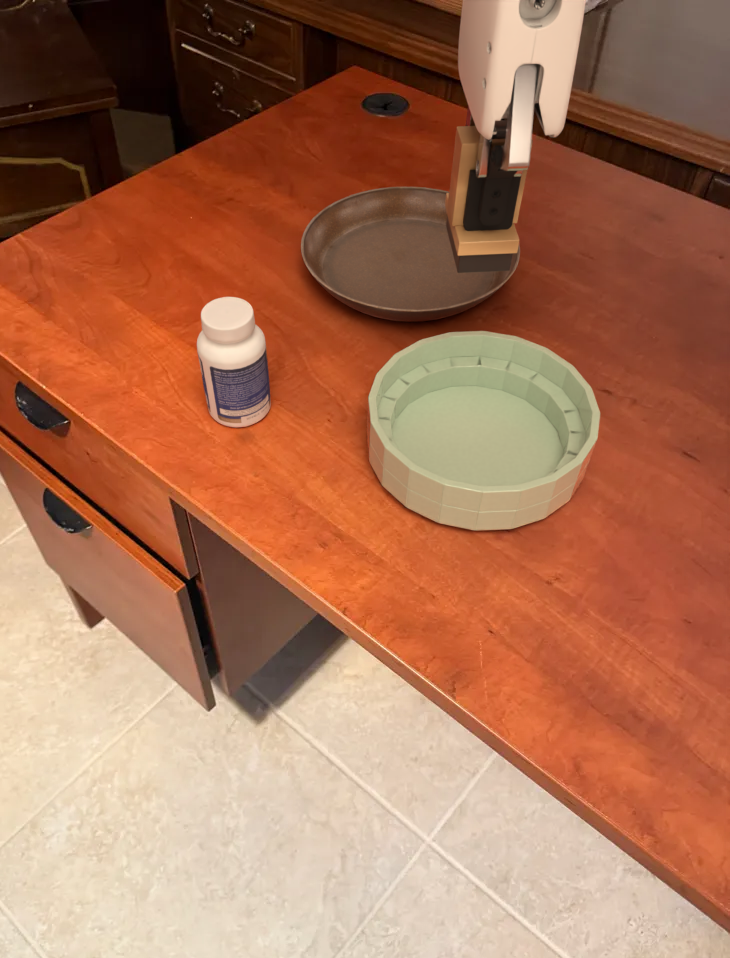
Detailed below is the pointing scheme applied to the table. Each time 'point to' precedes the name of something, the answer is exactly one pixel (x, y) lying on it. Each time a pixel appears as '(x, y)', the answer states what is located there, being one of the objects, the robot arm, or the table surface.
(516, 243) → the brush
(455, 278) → the plant saucer
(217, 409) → the pill bottle
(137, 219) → the table surface
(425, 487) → the bowl
